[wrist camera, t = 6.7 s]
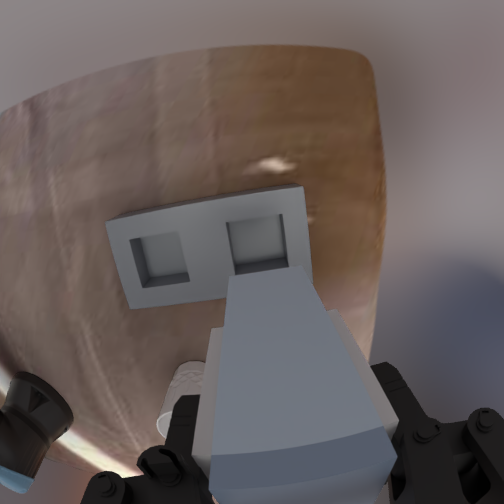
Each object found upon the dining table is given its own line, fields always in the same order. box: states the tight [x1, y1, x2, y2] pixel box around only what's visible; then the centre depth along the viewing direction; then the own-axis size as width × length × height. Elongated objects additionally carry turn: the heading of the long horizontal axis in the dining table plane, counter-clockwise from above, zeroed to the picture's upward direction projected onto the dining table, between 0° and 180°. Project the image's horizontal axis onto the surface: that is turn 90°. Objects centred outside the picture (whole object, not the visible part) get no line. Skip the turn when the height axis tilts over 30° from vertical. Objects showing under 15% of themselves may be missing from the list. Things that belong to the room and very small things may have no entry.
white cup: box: [156, 361, 206, 438], centre depth 33 cm, size 8×8×10 cm
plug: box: [209, 265, 397, 504], centre depth 11 cm, size 4×4×12 cm
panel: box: [105, 184, 313, 310], centre depth 30 cm, size 20×10×4 cm, turn 99°
